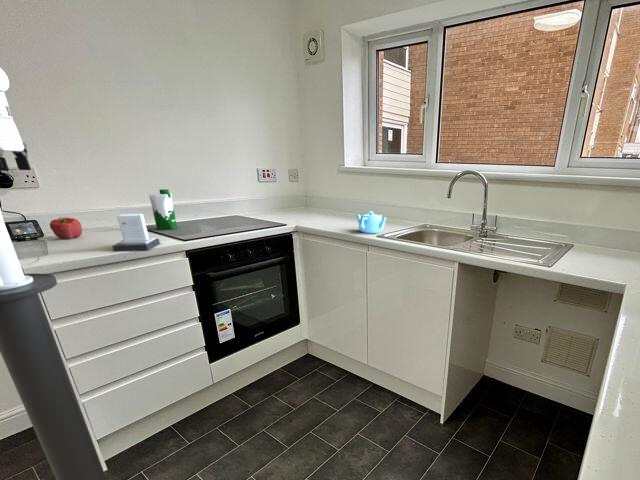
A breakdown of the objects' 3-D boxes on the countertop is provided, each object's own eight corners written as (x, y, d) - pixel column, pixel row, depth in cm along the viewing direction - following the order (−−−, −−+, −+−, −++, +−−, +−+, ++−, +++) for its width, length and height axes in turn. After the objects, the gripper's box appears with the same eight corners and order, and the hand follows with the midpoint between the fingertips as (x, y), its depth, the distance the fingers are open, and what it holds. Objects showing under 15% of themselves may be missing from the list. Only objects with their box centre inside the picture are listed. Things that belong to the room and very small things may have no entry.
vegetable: (81, 239, 156) (75, 217, 153) (50, 241, 151) (43, 218, 148) (86, 235, 165) (80, 213, 161) (57, 236, 160) (50, 214, 156)
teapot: (356, 229, 205) (355, 210, 201) (381, 228, 208) (381, 210, 204) (359, 233, 191) (359, 213, 187) (386, 233, 194) (386, 213, 190)
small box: (149, 238, 151) (143, 213, 147) (146, 240, 146) (140, 215, 142) (126, 239, 148) (120, 213, 144) (123, 241, 143) (116, 215, 139)
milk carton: (174, 230, 184) (165, 190, 176) (154, 230, 181) (145, 190, 174) (179, 227, 191) (172, 189, 184) (160, 227, 189) (152, 188, 182)
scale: (147, 250, 143) (146, 243, 142) (113, 251, 140) (111, 243, 139) (159, 243, 155) (158, 237, 154) (128, 244, 152) (127, 237, 151)
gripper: (1, 114, 116) (19, 169, 123) (-47, 107, 101) (-23, 170, 107) (28, 116, 118) (45, 170, 124) (-14, 109, 103) (8, 171, 109)
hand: (14, 170), depth 116 cm, fingers open, 9 cm apart
